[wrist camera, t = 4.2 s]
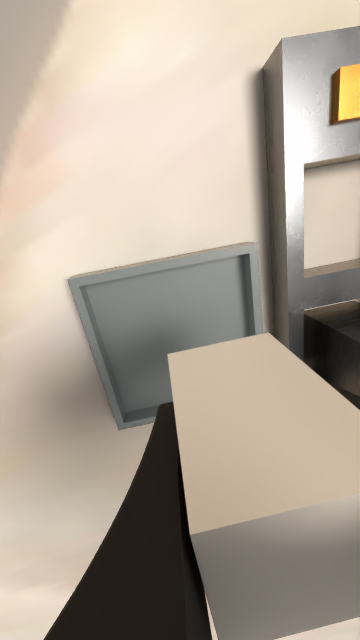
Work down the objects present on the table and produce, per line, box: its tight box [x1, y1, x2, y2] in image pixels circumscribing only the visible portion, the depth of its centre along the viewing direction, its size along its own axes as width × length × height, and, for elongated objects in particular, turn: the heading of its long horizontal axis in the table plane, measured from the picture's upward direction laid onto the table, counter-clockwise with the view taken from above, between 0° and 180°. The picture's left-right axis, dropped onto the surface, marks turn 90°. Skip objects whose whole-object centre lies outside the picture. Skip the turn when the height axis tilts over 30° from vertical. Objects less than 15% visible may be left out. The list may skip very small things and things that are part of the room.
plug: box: [167, 333, 360, 640], centre depth 7 cm, size 4×4×6 cm
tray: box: [67, 242, 263, 430], centre depth 17 cm, size 11×11×2 cm
